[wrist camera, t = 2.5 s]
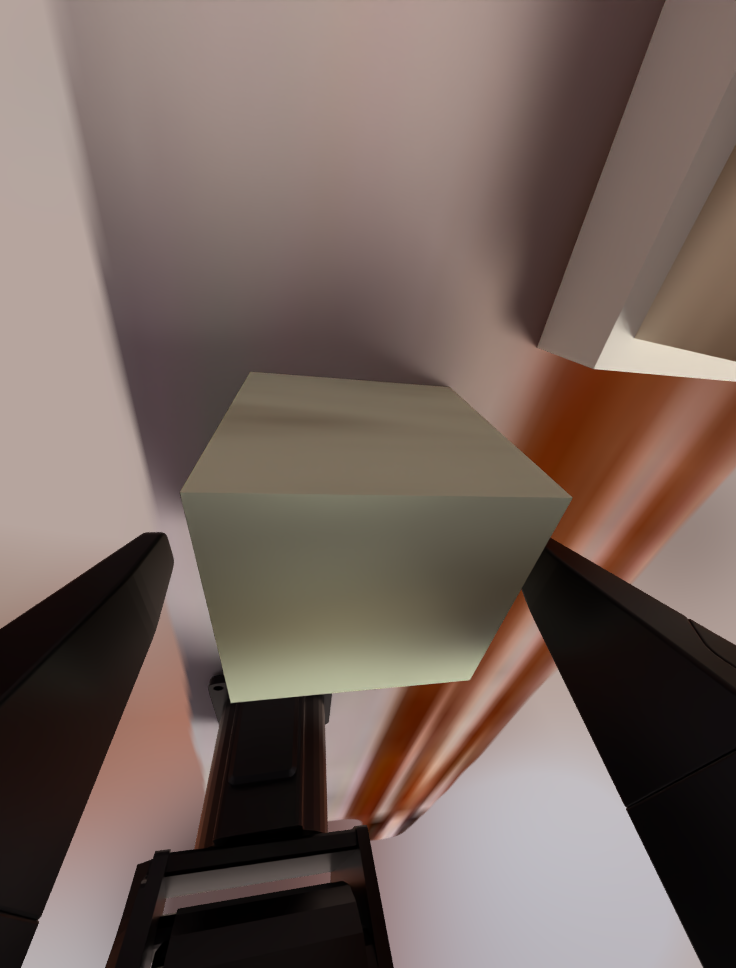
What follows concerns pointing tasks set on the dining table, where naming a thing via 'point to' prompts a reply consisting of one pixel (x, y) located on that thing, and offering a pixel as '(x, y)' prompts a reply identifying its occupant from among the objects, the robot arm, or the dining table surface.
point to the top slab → (702, 281)
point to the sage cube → (360, 534)
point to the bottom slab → (652, 197)
